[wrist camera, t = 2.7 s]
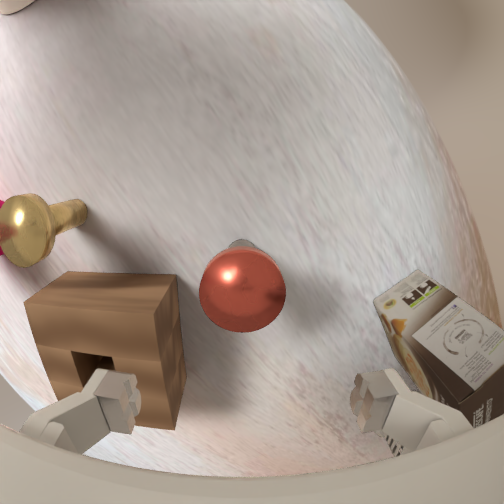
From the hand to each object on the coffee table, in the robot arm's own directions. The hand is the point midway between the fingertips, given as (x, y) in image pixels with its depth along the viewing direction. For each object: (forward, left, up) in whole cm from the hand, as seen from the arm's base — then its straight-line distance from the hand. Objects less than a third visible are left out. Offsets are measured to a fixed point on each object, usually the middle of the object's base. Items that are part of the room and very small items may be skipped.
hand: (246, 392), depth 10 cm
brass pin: (-4, -16, -17) cm, 24 cm away
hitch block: (+8, -12, -17) cm, 23 cm away
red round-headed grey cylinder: (0, 0, -17) cm, 17 cm away
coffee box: (+7, +18, -18) cm, 26 cm away
